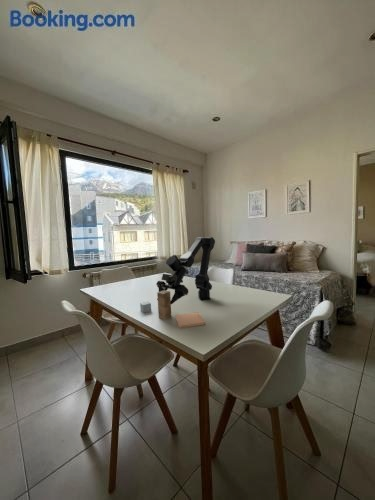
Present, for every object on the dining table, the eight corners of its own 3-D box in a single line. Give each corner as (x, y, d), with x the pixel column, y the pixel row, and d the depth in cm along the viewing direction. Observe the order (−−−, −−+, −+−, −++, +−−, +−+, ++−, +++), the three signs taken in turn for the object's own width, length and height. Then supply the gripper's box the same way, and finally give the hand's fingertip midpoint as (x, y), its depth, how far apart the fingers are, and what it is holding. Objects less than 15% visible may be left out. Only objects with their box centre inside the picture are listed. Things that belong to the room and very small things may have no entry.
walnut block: (165, 314, 106) (163, 290, 105) (171, 316, 103) (170, 291, 102) (158, 317, 103) (157, 292, 102) (165, 319, 100) (163, 293, 99)
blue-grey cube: (148, 308, 116) (147, 301, 115) (151, 311, 112) (150, 303, 111) (140, 310, 113) (140, 302, 113) (143, 313, 109) (142, 305, 109)
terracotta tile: (198, 314, 105) (198, 312, 105) (205, 324, 93) (205, 322, 93) (175, 317, 103) (175, 315, 102) (179, 327, 91) (179, 325, 91)
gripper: (157, 266, 111) (142, 290, 103) (183, 268, 99) (168, 297, 91) (168, 277, 118) (155, 301, 110) (194, 281, 106) (181, 308, 98)
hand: (164, 302), depth 102 cm, fingers open, 9 cm apart
